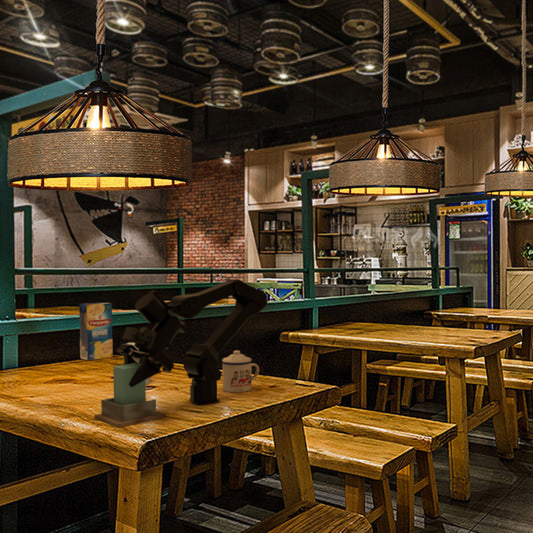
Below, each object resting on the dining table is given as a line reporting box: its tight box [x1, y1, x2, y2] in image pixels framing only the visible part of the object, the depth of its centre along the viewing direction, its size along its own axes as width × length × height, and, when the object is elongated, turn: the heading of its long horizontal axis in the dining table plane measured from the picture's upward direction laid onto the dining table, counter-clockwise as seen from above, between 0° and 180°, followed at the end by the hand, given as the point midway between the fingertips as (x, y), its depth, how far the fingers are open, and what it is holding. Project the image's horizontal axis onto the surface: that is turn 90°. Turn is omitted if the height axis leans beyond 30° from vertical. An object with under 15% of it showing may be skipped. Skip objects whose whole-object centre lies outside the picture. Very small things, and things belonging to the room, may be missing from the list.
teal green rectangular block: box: [112, 363, 147, 406], centre depth 147 cm, size 6×5×11 cm
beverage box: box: [78, 302, 114, 361], centre depth 241 cm, size 7×11×22 cm, turn 133°
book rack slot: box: [93, 397, 166, 429], centre depth 147 cm, size 13×12×4 cm
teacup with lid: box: [221, 350, 260, 393], centre depth 178 cm, size 12×9×12 cm
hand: (124, 384), depth 146 cm, fingers closed on teal green rectangular block, 5 cm apart
